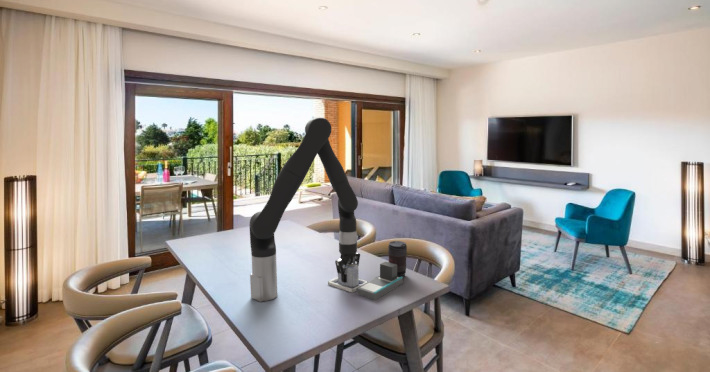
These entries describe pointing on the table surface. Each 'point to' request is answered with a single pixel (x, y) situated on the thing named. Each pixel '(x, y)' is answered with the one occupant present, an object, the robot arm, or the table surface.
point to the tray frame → (344, 286)
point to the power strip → (381, 282)
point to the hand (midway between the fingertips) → (348, 280)
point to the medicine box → (350, 276)
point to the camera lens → (398, 256)
